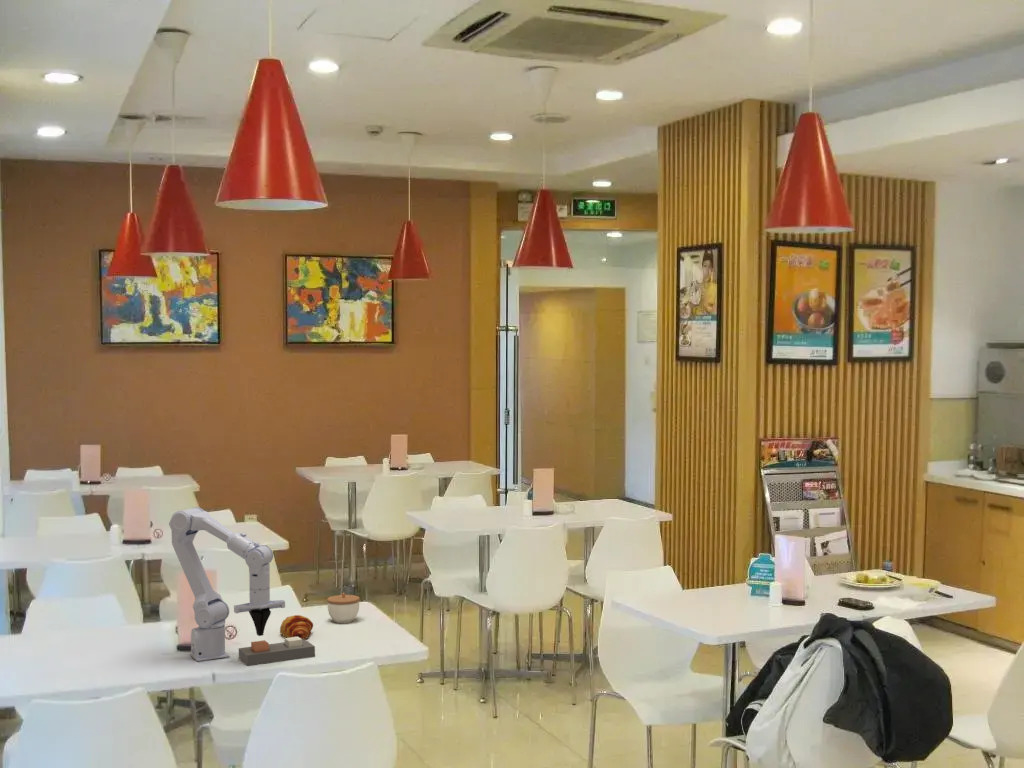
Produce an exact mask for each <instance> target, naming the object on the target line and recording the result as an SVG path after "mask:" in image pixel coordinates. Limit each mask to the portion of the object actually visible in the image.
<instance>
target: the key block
mask: <svg viewBox="0 0 1024 768" xmlns="http://www.w3.org/2000/svg"><path fill="white" fill-rule="evenodd" d="M315 656H316V646H315V645H314V644H312V643H311V642H310V641H308V640H306V639H302V646H299V647H292V648H287V647H286V646H285V641H284V642H276V643H269V651H262V652H255V653H254V652H253V651H252V650H251V646H247V647H246V646H245V647H238V659H239V660H240V661H241V662H242V663H243V664H244V665H245V666H246V667H250V666H257V665H258V666H259V665H264V664H270V663H279V662H285V661H293V660H299V659H306V658H312V657H313V658H314V657H315Z"/></svg>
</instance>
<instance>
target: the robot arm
mask: <svg viewBox="0 0 1024 768" xmlns="http://www.w3.org/2000/svg"><path fill="white" fill-rule="evenodd" d="M168 524H169V528H170V530H171V545H172V547H173V549H174V552H175V555H176V557H177V558H178V561H179V563H180V566H181V568H182V571H183V574H184V575H185V577H186V581H187V582H188V585H189V587H190V589H191V591H192V594H193V596H194V602H193V604H192V609H193V611H194V620H195V622H196V624H197V625H198V627H194V628H192V629H191V631H190V656H191V657H192V658H193V659H194V660H195V661H197V662H201V661H209V660H216V659H222V658H223V659H224V658H229V657H230V654H229V653H227V651H226V619H227V618H228V617H229V615H230V607H229V604H228V603H227V602H226V601H225V600H223V598H222V596H221V594H220V593H218V592H216V591H215V590H214V589H213V587H212V585H211V582H210V580H209V577H208V574H207V573H206V571H205V568H204V566H203V564H202V562H201V561H202V560H201V559H200V556H199V554H198V552H197V549H196V547H195V545H194V540H195V537H196V535H197V534H198V533H199V531H205V532H206V533H208V534H211V535H212V536H213V537H215V538H218V539H219V540H221V541H223V542H225V543H226V547H227V549H228V550H229V551H232V552H233V553H234V554H236V555H237V556H239V557H240V558H242V559H243V560H244V561H245V564H246V565H247V566H248V572H249V573H248V574H249V575H248V576H249V580H248V581H249V602H247V603H246V602H245V603H242V604H235V605H233V612H234V613H235V614H240V613H246V612H247V613H249V615H250V618H251V619H252V621H253V625H254V627H255V631H256V636H258V637H262V636H264V632H265V629H266V628H265V627H266V626H267V625H266V624H267V622H268V620H269V618H270V616H271V613H272V610H273V609H280V608H281V609H284V608H286V601H285V600H284V599H280V600H271V598H270V597H271V596H270V595H271V593H270V592H271V584H270V583H271V582H270V581H271V579H270V572H271V571H270V570H271V569H270V563H271V562H272V561H273V558H274V554H273V550H272V549H271V548H270V547H269V546H268V544H261V545H260V543H259V542H258V541H254V540H253V539H251V538H249V537H248V536H247V533H245V532H243V531H242V532H240V531H237V532H233V531H232V530H230V529H229V528H227V527H226V526H225V525H223V524H222V523H221V522H220V521H218V520H217V519H215V517H212V515H211V514H210V513H209V512H208V511H206V510H204V509H203V508H201V507H199V506H195V507H192V508H188V509H184V510H177V511H176V512H174V513H173V514H172V516H171V518H170V520H169V523H168ZM271 609H272V610H271Z"/></svg>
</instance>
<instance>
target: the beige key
mask: <svg viewBox="0 0 1024 768" xmlns="http://www.w3.org/2000/svg"><path fill="white" fill-rule="evenodd" d="M302 640H303V639H301V638H299V637H290V638H286V637H284V642H285V646H286V647H287V648H292V647H299V646H302Z"/></svg>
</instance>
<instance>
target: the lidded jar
mask: <svg viewBox="0 0 1024 768" xmlns="http://www.w3.org/2000/svg"><path fill="white" fill-rule="evenodd" d="M326 601H327V612H328V615H329V617H330V618H331V619H332V620H333V621H335V622H334V623H336V622H337V624H348V622H349V623H352V622H353V621H354V619H356V617H357V616H358V613H359V609H360V596H358V595H355V594H346V593H345V592H341V594H338V595H332V596H329V597H327V599H326Z"/></svg>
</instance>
